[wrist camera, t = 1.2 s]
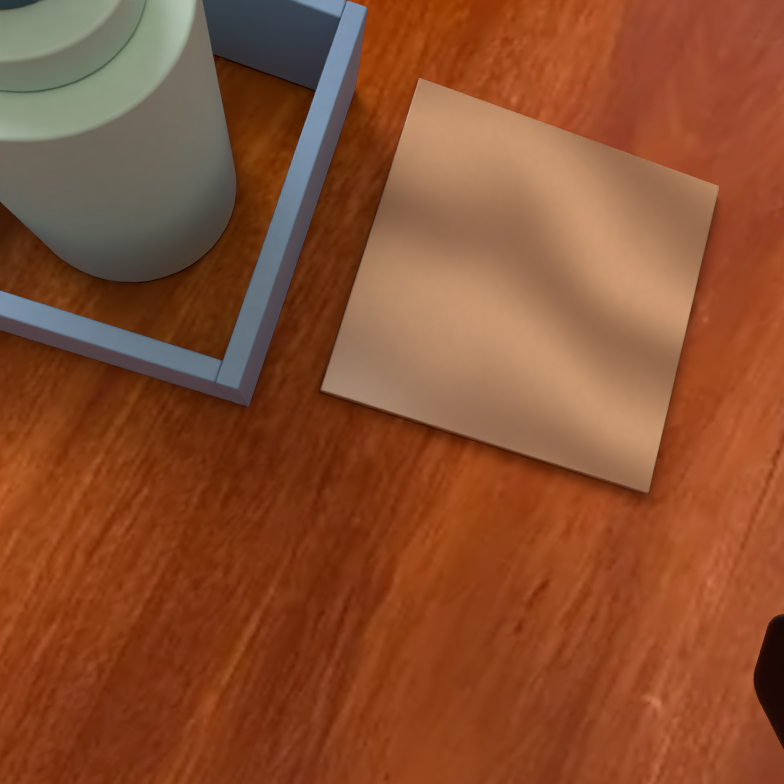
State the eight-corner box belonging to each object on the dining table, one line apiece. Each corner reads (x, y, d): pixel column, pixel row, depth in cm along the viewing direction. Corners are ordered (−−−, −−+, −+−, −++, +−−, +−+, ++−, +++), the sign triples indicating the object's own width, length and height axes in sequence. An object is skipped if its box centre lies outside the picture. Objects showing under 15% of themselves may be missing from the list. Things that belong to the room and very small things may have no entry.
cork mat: (642, 493, 23) (648, 493, 22) (319, 392, 22) (319, 390, 21) (713, 190, 24) (719, 186, 24) (417, 83, 23) (419, 76, 23)
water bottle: (198, 310, 21) (67, 78, 9) (-10, 243, 21) (-445, -99, 9) (263, 127, 23) (223, -300, 10) (67, 59, 22) (-224, -481, 10)
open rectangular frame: (248, 407, 21) (238, 389, 17) (-123, 292, 20) (-224, 246, 16) (355, 87, 23) (367, 6, 19) (19, -33, 22) (-40, -144, 18)
